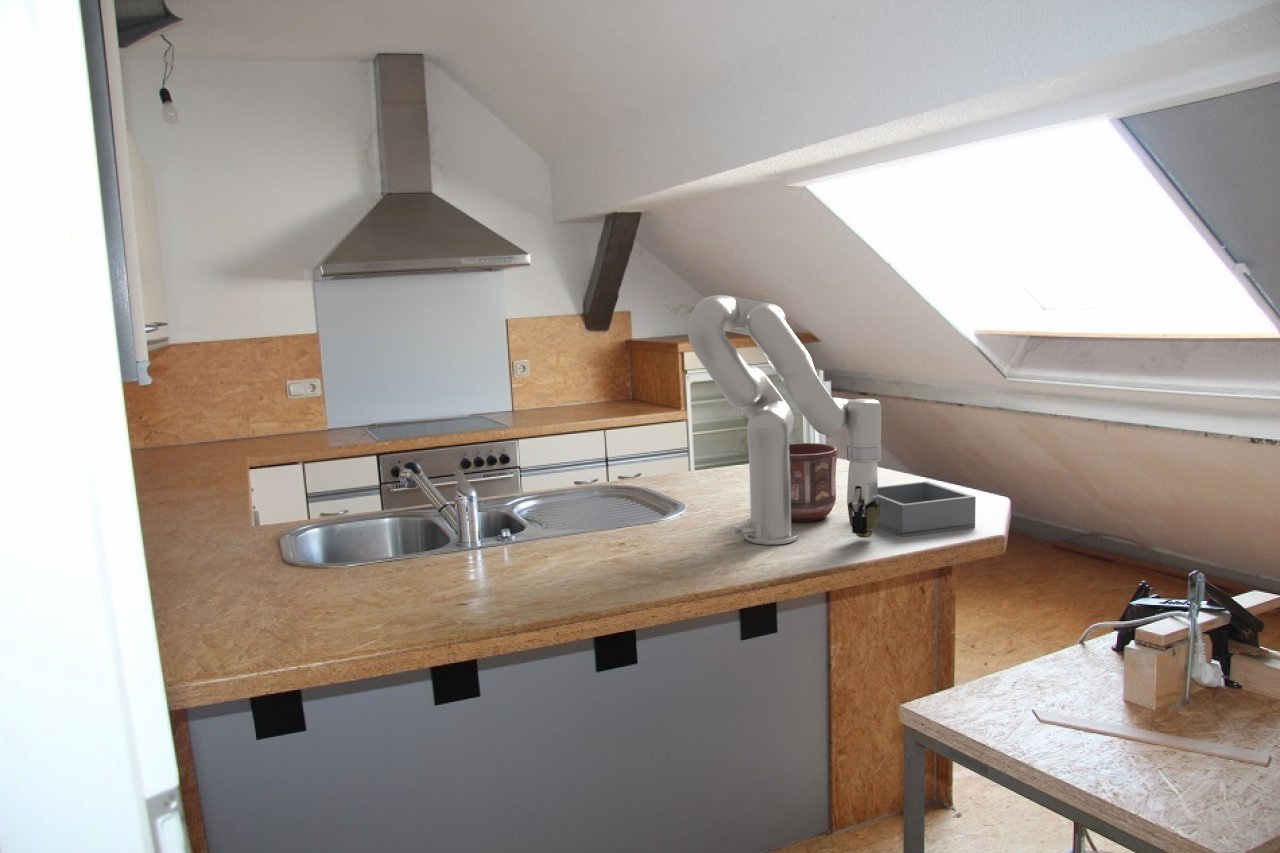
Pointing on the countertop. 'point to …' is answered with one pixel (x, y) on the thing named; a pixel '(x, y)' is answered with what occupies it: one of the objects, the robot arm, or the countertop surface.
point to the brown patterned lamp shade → (871, 514)
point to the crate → (924, 509)
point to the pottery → (812, 481)
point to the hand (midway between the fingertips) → (863, 528)
